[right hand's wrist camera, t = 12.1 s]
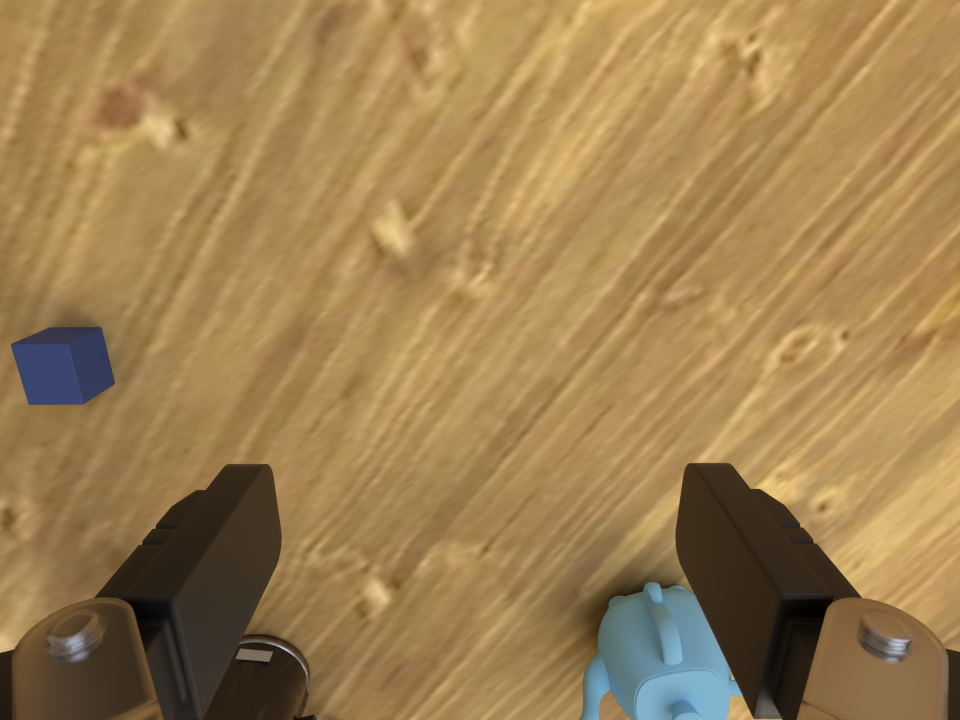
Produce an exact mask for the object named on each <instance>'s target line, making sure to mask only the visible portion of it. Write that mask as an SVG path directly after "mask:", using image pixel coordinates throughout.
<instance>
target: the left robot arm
mask: <svg viewBox="0 0 960 720" xmlns="http://www.w3.org/2000/svg"><path fill="white" fill-rule="evenodd" d="M309 678H310V671H309V667H308V664H307V662H306V660H305V658H304V657H303V656H302V654H301V653H300V652H299V651H298V650H296V649H295V648H294V647H293V646H291V645H289V644H288V643H286V642H284V641H281V640H279V639H276V638H272V637H267V636H247V637H242V639H241V641H240V643H239V645H238V647H237V649H236V651H235V653H234V655H233V657H232V659H231V661H230V664H229V666H228V668H227V670H226V672H225V674H224V676H223V678H222V680H221V682H220V684H219V686H218V689H217V691H216V693H215V695H214V697H213V699H212V701H211V703H210V705H209V707H208V709H207V711H206V714H205V716H204V718H203V720H317V719H316V717H315V715H311V716H306V717H302V715H303V711H304V708H305V705H306V702H307V698H308V693H307V691H306V689H307V686H308V683H309Z"/></svg>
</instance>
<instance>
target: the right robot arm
mask: <svg viewBox="0 0 960 720" xmlns="http://www.w3.org/2000/svg"><path fill="white" fill-rule="evenodd" d="M676 549H677V555H678V559H679V562H680V564H681V567H682V569H683V571H684V573H685V575H686V577H687V579H688V581H689V584H690V586H691V588H692V590H693V592H694V594H695V596H696V598H697V600H698V603H699V605H700V607H701V609H702V611H703V613H704V615H705V617H706V619H707V622H708V624H709V626H710V628H711V630H712V632H713V634H714V636H715V638H716V640H717V643H718V645H719V647H720V649H721V651H722V653H723V655H724V657H725V659H726V662H727V664H728V666H729V668H730V670H731V672H732V674H733V676H734V678H735V681H736V683H737V685H738V687H739V689H740V691H741V693H742V695H743V697H744V699H745V702H746V704H747V706H748V708H749V710H750V712H751V714H752V716H753V718H754V719H782V720H960V652H958V651H953V650H949V649H945V647H944V646H943V644H942V642H941V641H940V640H939V638H938V637H937V636H936V635H935V634H934V633H933V632H932V631H931V630H930V629H929V628H928V627H927V626H925V625H924V624H923V623H921V622H920V621H919V620H917V619H916V618H914V617H912V616H911V615H909V614H908V613H906V612H904V611H902V610H900V609H898V608H895V607H893V606H891V605H888V604H885V603H882V602H879V601H875V600H871V599H865V598H862V597H861V596H860V595H859V594H858V592H857V591H856V590H855V589H854V588H853V586H852V585H851V584H850V583H849V582H848V580H847V579H846V578H845V577H844V576H843V574H842V573H841V572H840V571H839V570H838V568H837V567H836V566H835V565H834V564H833V563H832V561H831V560H830V559H829V558H828V557H827V555H826V554H825V553H824V552H823V551H822V549H821V548H820V547H819V546H818V545H817V544H814V543H813V539H812V537H811V536H810V535H809V534H808V533H807V532H806V530H805V529H804V528H801V527H800V523H799V522H798V521H797V520H796V518H795V517H794V516H793V515H792V514H791V512H790V511H789V510H788V509H787V508H786V506H785V505H783V504H782V503H780V502H779V501H777V500H776V499H774V498H773V497H771V496H770V495H768V494H767V493H765V492H764V491H762V490H761V489H750V488H749V486H748V485H747V484H746V482H745V481H744V480H743V479H742V477H741V476H740V475H739V473H738V472H737V471H736V470H735V468H734V467H733V466H732V465H731V464H729V463H689V464H688V465H687V466H686V468H685V471H684V476H683V482H682V490H681V497H680V504H679V511H678V518H677V525H676ZM280 551H281V526H280V519H279V512H278V505H277V498H276V491H275V484H274V477H273V472H272V469H271V467H270V466H269V465H268V464H227V465H226V466H225V467H224V468H223V469H222V470H221V471H220V473H219V474H218V475H217V476H216V478H215V479H214V480H213V481H212V483H211V484H210V485H209V487H208V488H207V489H206V490H196V491H195V492H193V493H191V494H190V495H188V496H187V497H185V498H184V499H182V500H181V501H179V502H178V503H176V504H175V505H173V506H172V507H171V508H170V509H169V510H168V511H167V513H166V514H165V515H164V516H163V517H162V519H161V520H160V521H159V522H158V523H157V524H156V529H152V530H151V532H150V533H149V534H148V535H147V536H146V537H145V539H144V540H143V543H142V545H139V546H138V547H137V548H136V549H135V550H134V552H133V553H132V554H131V555H130V556H129V558H128V559H127V560H126V561H125V562H124V563H123V565H122V566H121V567H120V568H119V569H118V571H117V572H116V573H115V574H114V575H113V576H112V578H111V579H110V580H109V581H108V582H107V584H106V585H105V586H104V587H103V588H102V589H101V591H100V592H99V593H98V594H97V595H96V597H95V598H94V599H89V600H85V601H81V602H78V603H75V604H72V605H69V606H67V607H65V608H62V609H60V610H58V611H56V612H54V613H52V614H51V615H49V616H48V617H46V618H44V619H43V620H41V621H40V622H39V623H37V624H36V625H35V626H33V627H32V628H31V629H30V630H29V631H28V632H27V633H26V634H25V635H24V636H23V637H22V638H21V640H20V641H19V642H18V644H17V646H16V647H15V649H14V650H10V651H7V652H2V653H0V720H203V718H204V716H205V714H206V711H207V709H208V707H209V705H210V703H211V701H212V699H213V697H214V695H215V693H216V691H217V689H218V686H219V684H220V682H221V680H222V678H223V676H224V674H225V672H226V670H227V668H228V666H229V664H230V661H231V659H232V657H233V655H234V653H235V651H236V649H237V647H238V645H239V643H240V641H241V639H242V637H243V634H244V632H245V630H246V628H247V626H248V624H249V622H250V620H251V618H252V616H253V614H254V612H255V609H256V607H257V605H258V603H259V601H260V599H261V597H262V595H263V593H264V591H265V589H266V587H267V584H268V582H269V580H270V578H271V576H272V574H273V572H274V570H275V568H276V566H277V563H278V560H279V556H280Z"/></svg>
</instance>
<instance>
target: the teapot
mask: <svg viewBox="0 0 960 720" xmlns="http://www.w3.org/2000/svg"><path fill="white" fill-rule="evenodd" d="M608 606H609V609H608V610H607V612H606V613H605V615H604V617H603V620H602V622H601V625H600V629H599V634H598V654H597V655H595V656H594V657H593V658H592V659H591V661H590V662H589V664H588V665H587V667H586V670H585V672H584V677H583V711H582V715H581V718H580V720H598V717H599V703H600V700H601V698H602V696H603V695H604V694H605V693H607V692H608V691H609V690H611V691H612V693H613V695H614V696H615V698H616V700H617V701H618V703H619V704H620V706H621V707H622V709H623V710H624V712H625V713H626V714H627V716H628V717H629V718H630V719H631V720H726V719H727V716H728V710H729V703H730V696H743V695H742V693H741V691H740V689H739V687H738V685H737V683H736V681H735V680H731V670H730V668H729V666H728V664H727V662H726V659H725V657H724V655H723V653H722V651H721V649H720V647H719V645H718V643H717V640H716V638H715V636H714V634H713V632H712V630H711V628H710V626H709V624H708V622H707V619H706V617H705V615H704V613H703V611H702V609H701V607H700V605H699V603H698V600H697V598H696V596H695V594H693V593H691V592H689V591H686V589H685V588H684V587H682V586H677V585H676V586H671V587H669V588H665V589H661V588H660V585H659V584H658V583H656V582H648V583H647V584H646V585H645V586H644V589H643V592H639V593H635V594H631V595H628V596H621V595H620V596H616V597H613V598H612V599H611V600H610V601H609V604H608Z"/></svg>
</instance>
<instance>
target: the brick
mask: <svg viewBox="0 0 960 720" xmlns="http://www.w3.org/2000/svg"><path fill="white" fill-rule="evenodd" d="M11 347H12V350H13V353H14V357H15V360H16V363H17V367H18V370H19V373H20V377H21V380H22V383H23V387H24V390H25V393H26V397H27V400H28V403H29V405H55V404H85V403H86V402H88V401H89V400H91V399H92V398H94V397H95V396H97V395H98V394H100V393H101V392H103V391H104V390H106V389H107V388H109V387H110V386H112V385H114V379H113V374H112V370H111V366H110V362H109V358H108V354H107V350H106V345H105V341H104V337H103V333H102V329H101V328H100V327H98V328H48V329H45V330H43V331H41V332H38V333H36V334H34V335H31V336H29V337H27V338H24V339H22V340H20V341H17V342H15V343H13V344H11Z"/></svg>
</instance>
